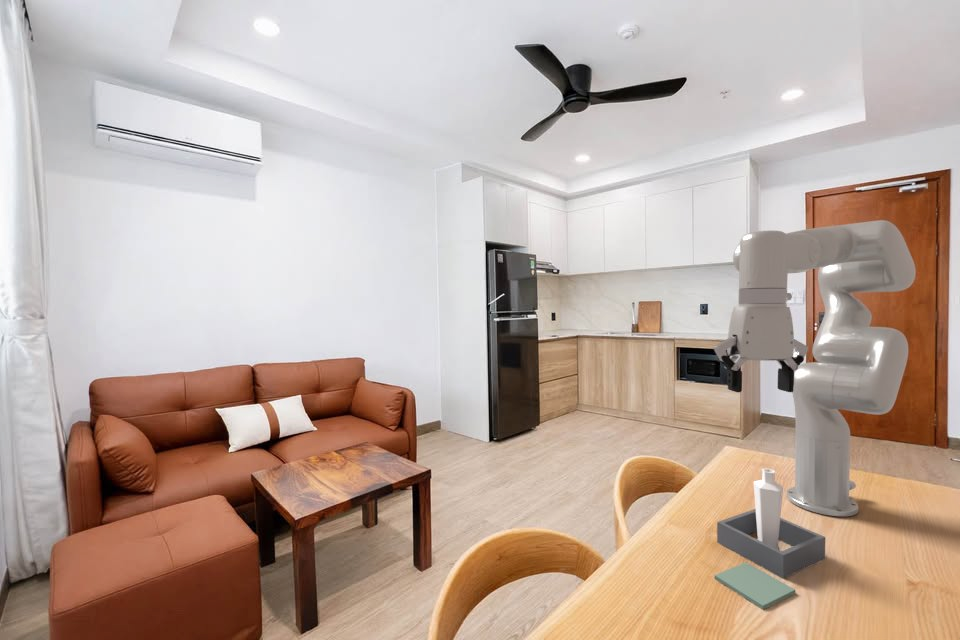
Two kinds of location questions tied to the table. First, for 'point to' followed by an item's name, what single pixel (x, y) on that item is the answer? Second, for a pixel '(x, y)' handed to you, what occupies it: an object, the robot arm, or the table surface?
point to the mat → (755, 585)
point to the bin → (781, 563)
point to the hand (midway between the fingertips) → (759, 390)
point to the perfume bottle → (768, 508)
